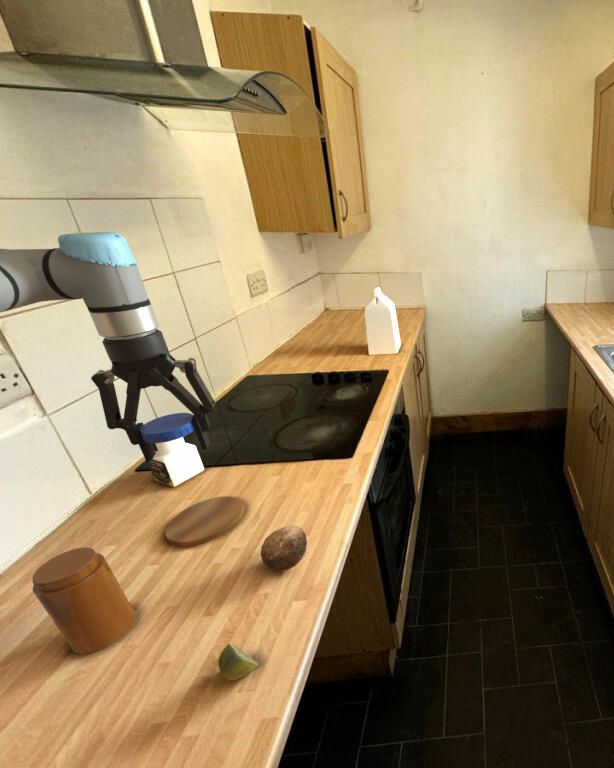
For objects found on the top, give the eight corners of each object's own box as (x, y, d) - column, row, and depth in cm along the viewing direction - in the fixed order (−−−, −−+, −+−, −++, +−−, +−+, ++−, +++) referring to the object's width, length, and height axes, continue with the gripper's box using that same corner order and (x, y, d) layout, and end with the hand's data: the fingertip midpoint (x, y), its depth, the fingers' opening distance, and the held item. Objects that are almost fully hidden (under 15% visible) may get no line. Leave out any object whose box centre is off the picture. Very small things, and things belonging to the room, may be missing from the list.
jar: (57, 652, 60) (10, 584, 54) (106, 607, 66) (68, 543, 61) (103, 656, 59) (60, 588, 54) (148, 610, 66) (113, 545, 60)
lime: (234, 656, 59) (223, 632, 57) (268, 654, 59) (259, 630, 57) (215, 690, 55) (203, 666, 53) (252, 687, 55) (242, 663, 53)
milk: (374, 345, 183) (365, 286, 173) (400, 344, 185) (393, 285, 174) (368, 354, 173) (359, 292, 162) (397, 353, 174) (389, 291, 163)
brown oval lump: (306, 519, 79) (286, 512, 74) (325, 552, 76) (305, 547, 70) (269, 548, 78) (246, 544, 72) (287, 584, 74) (264, 581, 69)
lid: (208, 422, 78) (204, 413, 78) (173, 444, 71) (169, 434, 70) (169, 420, 79) (165, 411, 78) (131, 442, 72) (127, 433, 71)
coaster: (149, 544, 78) (147, 540, 78) (201, 498, 90) (200, 495, 90) (213, 548, 77) (211, 544, 77) (258, 501, 89) (257, 497, 89)
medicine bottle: (154, 480, 96) (134, 436, 91) (186, 463, 102) (169, 421, 97) (174, 487, 94) (154, 442, 89) (205, 470, 100) (189, 426, 95)
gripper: (210, 319, 75) (245, 429, 84) (58, 335, 67) (116, 455, 76) (202, 330, 68) (241, 448, 78) (34, 349, 60) (100, 477, 70)
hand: (179, 451), depth 77 cm, fingers closed on lid, 8 cm apart
